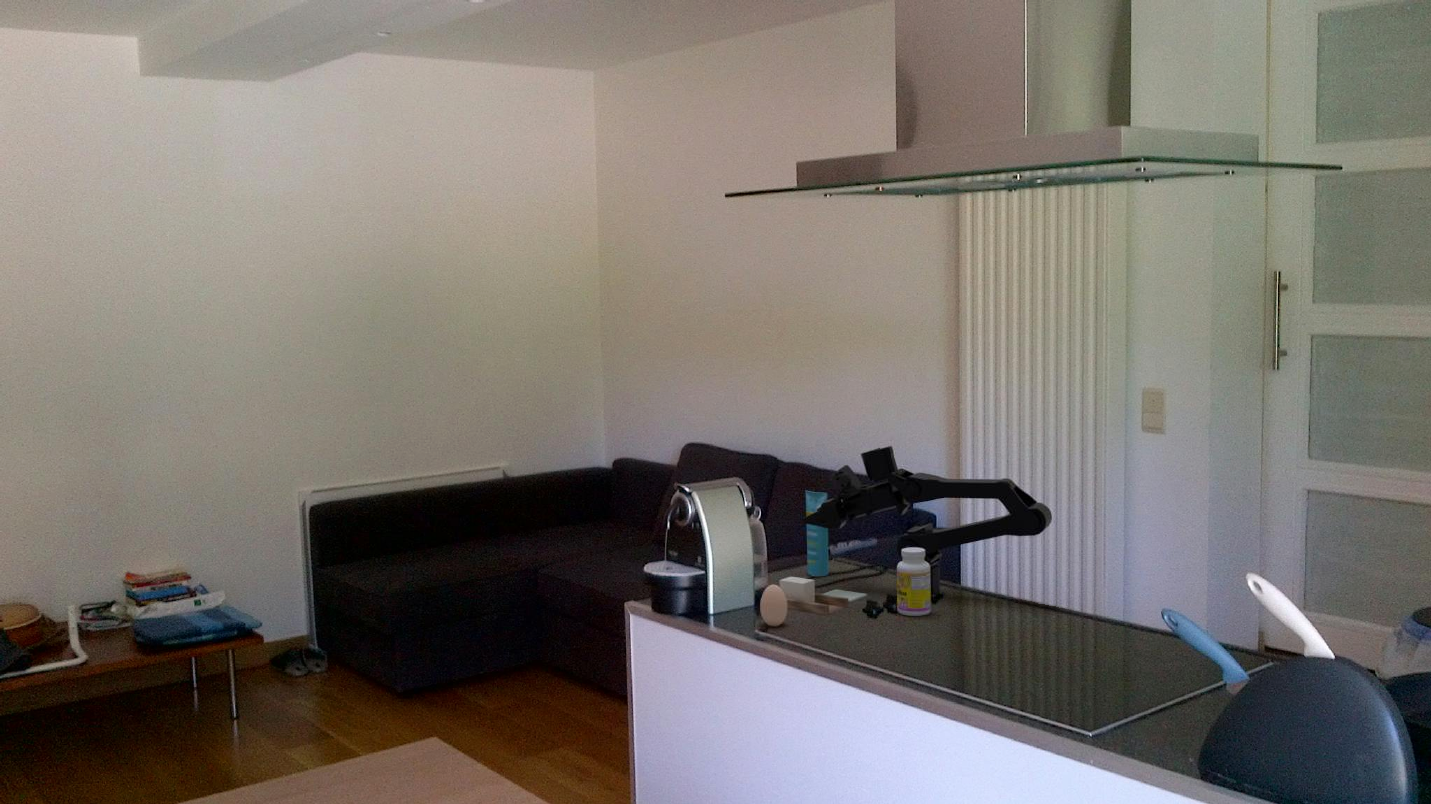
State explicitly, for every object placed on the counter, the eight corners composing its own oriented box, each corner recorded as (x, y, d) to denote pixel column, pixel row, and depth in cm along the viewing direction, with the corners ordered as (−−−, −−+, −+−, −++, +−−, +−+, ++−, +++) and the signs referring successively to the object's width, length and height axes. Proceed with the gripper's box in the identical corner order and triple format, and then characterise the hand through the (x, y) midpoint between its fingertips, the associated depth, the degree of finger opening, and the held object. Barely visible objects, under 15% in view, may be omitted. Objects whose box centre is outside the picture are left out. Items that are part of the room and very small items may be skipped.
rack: (848, 607, 258) (848, 598, 258) (826, 616, 252) (826, 606, 252) (797, 599, 266) (796, 590, 266) (774, 607, 260) (774, 597, 260)
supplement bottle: (893, 609, 256) (892, 547, 255) (925, 607, 256) (924, 545, 255) (902, 617, 249) (901, 553, 248) (935, 616, 250) (934, 552, 249)
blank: (814, 603, 261) (814, 580, 260) (803, 607, 258) (803, 583, 257) (791, 600, 265) (790, 576, 264) (780, 603, 262) (779, 580, 261)
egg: (758, 623, 247) (757, 582, 247) (784, 622, 248) (783, 580, 248) (763, 630, 242) (762, 588, 242) (790, 629, 243) (789, 586, 242)
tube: (799, 574, 291) (797, 491, 289) (813, 570, 294) (812, 488, 292) (823, 578, 285) (821, 494, 284) (837, 575, 289) (836, 491, 287)
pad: (867, 596, 267) (866, 594, 267) (845, 604, 261) (845, 601, 261) (835, 592, 272) (835, 589, 272) (814, 599, 266) (814, 596, 266)
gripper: (876, 455, 279) (813, 472, 285) (849, 471, 262) (783, 490, 269) (892, 503, 279) (828, 519, 286) (865, 522, 262) (799, 539, 269)
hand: (810, 516), depth 277 cm, fingers open, 9 cm apart
